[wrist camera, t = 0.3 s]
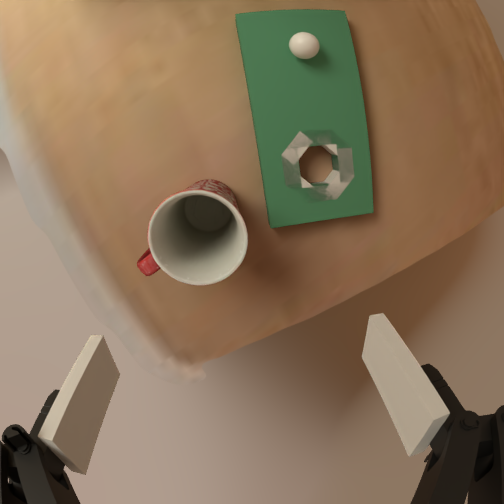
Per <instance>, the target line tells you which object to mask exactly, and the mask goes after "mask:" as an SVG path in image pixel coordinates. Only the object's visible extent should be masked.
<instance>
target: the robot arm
mask: <svg viewBox="0 0 504 504" xmlns="http://www.w3.org/2000/svg"><path fill="white" fill-rule="evenodd" d="M362 358H363V361H364V363H365V365H366V366H367V368H368V370H369V373H370V375H371V376H372V379H373V380H374V383H375V385H376V387H377V389H378V391H379V393H380V395H381V397H382V399H383V401H384V403H385V405H386V407H387V410H388V412H389V414H390V416H391V418H392V420H393V423H394V425H395V427H396V429H397V431H398V434H399V436H400V438H401V440H402V443H403V445H404V447H405V449H406V452H407V454H408V456H409V457H411V456H413V455H416V454H418V453H421V452H423V451H425V450H426V448H427V447H428V446H429V444H430V446H431V448H432V451H431V452H430V454H429V455H428V456H427V457H426V459H425V461H424V462H427V464H426V467H425V470H424V473H423V475H422V478H421V480H420V483H419V485H418V488H417V490H416V493H415V495H414V497H413V499H412V502H411V504H464V503H465V499H466V496H467V493H468V504H504V405H503V406H501V407H500V408H498V410H497V411H496V413H495V414H490V415H484V416H478V415H477V414H476V413H475V412H472V411H466V410H465V409H464V408H463V407H462V405H461V404H460V402H459V401H458V399H457V397H456V396H455V394H454V393H453V391H452V390H451V389H450V387H449V386H448V384H447V383H446V381H445V380H443V377H442V376H441V374H440V373H439V371H438V370H437V369H436V368H434V367H433V366H432V365H430V364H426V365H422V366H420V365H419V364H418V362H417V360H416V359H415V358H414V356H413V355H412V353H411V352H410V350H409V349H408V347H407V346H406V345H405V343H404V342H403V340H402V339H401V337H400V336H399V334H398V333H397V332H396V330H395V329H394V327H393V326H392V325H391V323H390V322H389V320H388V319H387V318H386V316H385V315H384V314H383V313H382V314H376V315H370V316H369V322H368V327H367V333H366V338H365V343H364V349H363V353H362ZM119 376H120V373H119V371H118V369H117V367H116V364H115V362H114V360H113V358H112V355H111V353H110V351H109V348H108V346H107V344H106V341H105V339H104V336H99V335H97V336H96V335H91V336H90V338H89V339H88V341H87V343H86V344H85V346H84V348H83V350H82V352H81V353H80V355H79V357H78V358H77V360H76V362H75V364H74V365H73V367H72V369H71V371H70V373H69V374H68V376H67V378H66V380H65V382H64V384H63V386H62V388H61V389H60V390H55V391H53V392H52V393H51V394H50V395H49V396H48V398H47V400H46V402H45V404H44V406H43V408H42V409H41V413H39V415H38V418H37V420H36V421H35V424H34V426H33V428H32V430H31V432H30V434H28V433H27V432H26V431H25V430H24V428H22V427H21V426H20V425H17V424H15V425H10V426H9V427H7V428H6V429H5V431H4V432H3V435H2V441H3V442H4V443H5V444H3V443H2V442H1V441H0V504H80V502H79V500H78V498H77V496H76V494H75V492H74V489H73V487H72V485H71V483H70V481H69V478H68V476H67V474H66V473H65V471H64V470H63V469H64V466H65V465H66V466H67V467H68V468H69V469H70V470H71V471H73V472H77V473H81V474H85V475H86V472H87V469H88V465H89V462H90V459H91V456H92V452H93V449H94V446H95V443H96V440H97V437H98V434H99V431H100V428H101V425H102V422H103V419H104V416H105V414H106V411H107V408H108V405H109V403H110V400H111V397H112V394H113V392H114V389H115V386H116V384H117V381H118V379H119ZM427 460H428V461H427ZM8 478H9V483H8Z"/></svg>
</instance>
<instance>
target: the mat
mask: <svg viewBox="0 0 504 504" xmlns="http://www.w3.org/2000/svg"><path fill="white" fill-rule="evenodd" d="M236 26H237V32H238V37H239V43H240V48H241V54H242V59H243V65H244V70H245V76H246V82H247V88H248V94H249V100H250V105H251V111H252V117H253V124H254V130H255V136H256V142H257V148H258V155H259V161H260V167H261V174H262V180H263V187H264V194H265V200H266V207H267V214H268V221H269V225H270V227H271V228H276V227H283V226H289V225H295V224H302V223H308V222H315V221H321V220H328V219H334V218H341V217H348V216H355V215H361V214H368V213H373V190H372V174H371V161H370V150H369V140H368V131H367V122H366V115H365V108H364V101H363V94H362V88H361V82H360V77H359V71H358V66H357V61H356V56H355V51H354V46H353V42H352V38H351V33H350V29H349V25H348V21H347V17H346V14H345V11H340V10H310V9H304V10H273V11H260V12H249V13H240V14H236ZM300 32H307V33H310V34H312V35H314V36H315V37H316V38H317V40H318V42H319V51H318V53H317V54H316V55H315V56H314V57H312V58H310V59H301V58H298V57H296V56H295V55H294V54H293V53H292V52H291V51H290V48H289V41H290V39H291V38H292V36H293V35H295V34H297V33H300ZM319 145H321V146H322V147H323V148H325V149H326V150H327V151H328V152H329V153H331V155H332V164H333V170H332V171H331V173H330V174H329V175H328V177H327V178H326V179H325V181H324V182H316V183H308V182H307V181H306V180H305V179H303V178H302V177H301V175H300V167H299V158H300V157H301V156H302V155H303V153H304V152H305V151H306V149H307V148H308V147H309V146H319Z"/></svg>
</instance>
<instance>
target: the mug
mask: <svg viewBox="0 0 504 504" xmlns="http://www.w3.org/2000/svg"><path fill="white" fill-rule="evenodd" d="M147 236H148V245H149V249H148V250H147V251H146V252H145V253H144V254H143V255H142V256H141V258H140V259H139V260H138V262H137V266H138V268H139V269H140V271H141V272H142V273H143V274H145V275H146V276H150V275H152V274H154V273H155V272H157V271H158V270H159V269H160V268H161V269H162V270H163V271H164V272H165V273H167V274H168V275H169V276H171V277H172V278H174V279H176V280H178V281H180V282H182V283H186V284H190V285H210V284H214V283H217V282H220V281H222V280H224V279H226V278H227V277H229V276H230V275H232V274H233V273H234V272H235V271H236V270H237V269H238V267H239V266H240V265H241V263H242V262H243V260H244V257H245V255H246V252H247V248H248V232H247V227H246V224H245V221H244V219H243V217H242V215H241V213H240V212H239V209H238V206H237V202H236V199H235V196H234V195H233V193H232V191H231V190H230V189H229V188H228V187H227V186H226V185H225V184H223V183H221V182H219V181H216V180H202V181H199V182H196V183H194V184H193V185H191V186H190V187H188V188H187V189H185V190H183V191H180V192H177V193H175V194H173V195H171V196H169V197H168V198H166V199H165V200H164V201H163V202H162V203H161V204H160V205H159V206H158V207H157V208H156V210H155V211H154V213H153V215H152V217H151V219H150V222H149V226H148V235H147Z"/></svg>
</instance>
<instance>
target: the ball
mask: <svg viewBox="0 0 504 504" xmlns="http://www.w3.org/2000/svg"><path fill="white" fill-rule="evenodd" d="M289 48H290V51H291V52H292V53H293V54H294V55H295V56H296V57H298V58H301V59H310V58H312V57H314V56H315V55H316V54H317V53H318V51H319V42H318V40H317V38H316V37H315V36H314V35H312V34H310V33H307V32H300V33H297V34H295V35H293V36H292V38H291V39H290V41H289Z"/></svg>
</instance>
